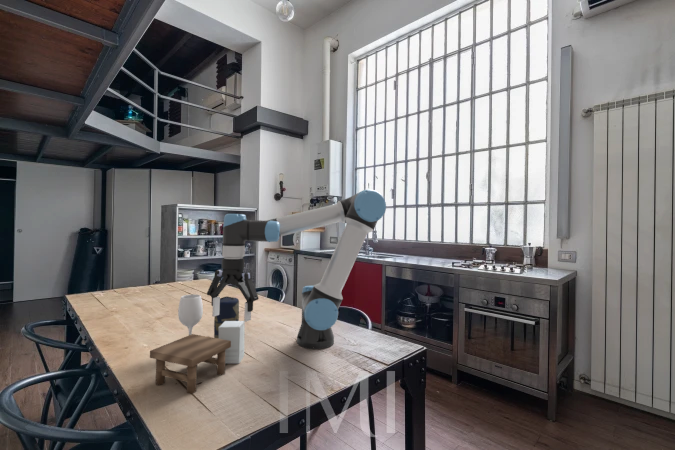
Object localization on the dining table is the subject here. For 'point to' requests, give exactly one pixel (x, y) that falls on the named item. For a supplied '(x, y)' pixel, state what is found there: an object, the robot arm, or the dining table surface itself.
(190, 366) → the stool
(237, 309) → the canister
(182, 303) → the wineglass
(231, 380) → the dining table surface
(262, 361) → the dining table surface
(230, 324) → the supplement box
